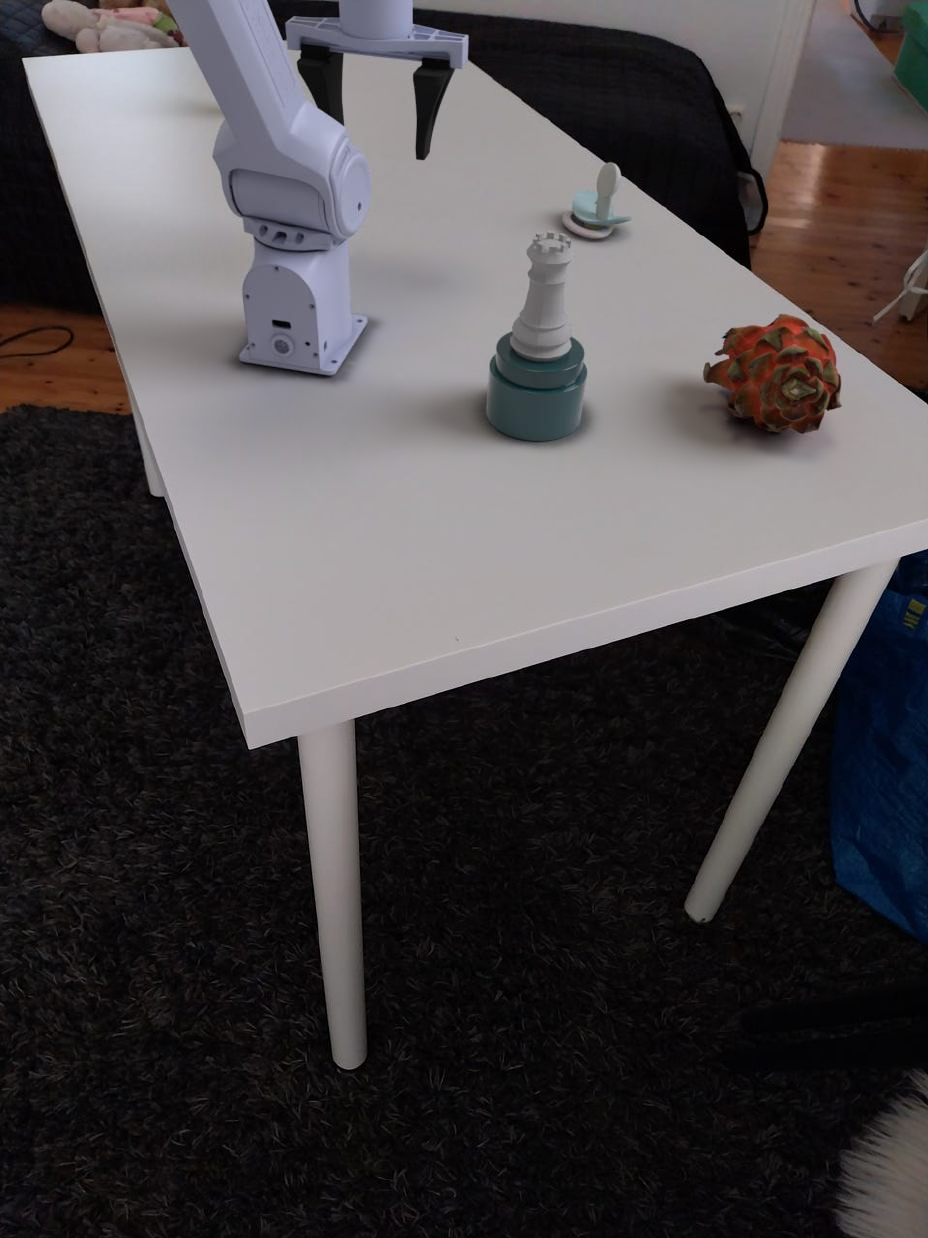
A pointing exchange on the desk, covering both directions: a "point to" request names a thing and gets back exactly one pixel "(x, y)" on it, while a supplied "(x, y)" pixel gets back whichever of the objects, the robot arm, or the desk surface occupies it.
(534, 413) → the teal jar with lid
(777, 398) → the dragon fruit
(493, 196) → the desk surface
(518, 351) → the rook chess piece
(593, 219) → the pacifier
